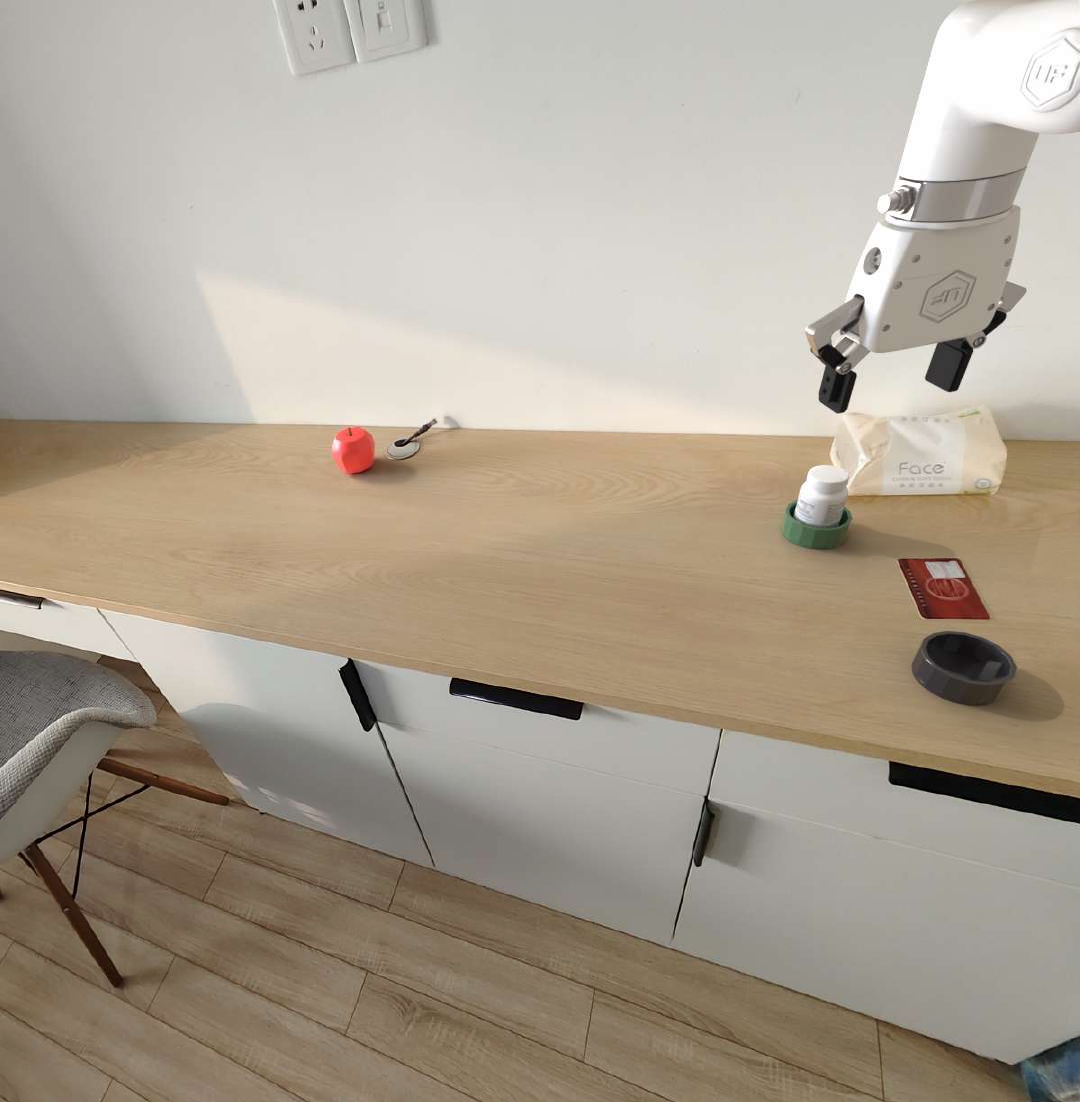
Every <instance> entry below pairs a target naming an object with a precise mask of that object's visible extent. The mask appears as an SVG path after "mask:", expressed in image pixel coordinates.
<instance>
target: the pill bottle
mask: <svg viewBox="0 0 1080 1102" xmlns="http://www.w3.org/2000/svg"><path fill="white" fill-rule="evenodd" d="M849 479H850V473H849V471H848V470H846V469H844V468H843V467H841V466H837V465H831V464H820V465H816V466H813V467H811V468H810V469H809V471H808V473H807V477H806V481H805V482H804V483H802V485H801V487H800V490H799V494H798V497H797V500H798V501H797V505H796V509H795V513H794V517H793V518H794V519H795V520H796V521H798V522H800V523H802V524H804V525H807V526H811V527H815V528H834V527H838V525H839V522H840V519H841V516H842V513H843V509H844V507H846V506H845V505H846V503H847V500H848V496H849V490H848V487H847V486H848V483H849Z"/></svg>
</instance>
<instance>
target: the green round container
mask: <svg viewBox="0 0 1080 1102" xmlns="http://www.w3.org/2000/svg"><path fill="white" fill-rule="evenodd" d="M797 501H798V499H796V500H794V501H791V502H789V503H788V504H787V506H786V507H785V509H784V513H783V518H782V521H781V525H780V526H781V527H780V528H781V529H780V531H781V534H782V536H783V537H784V538H785V539H787V540H788V541H789V542H791V543H792V544H794V545H797V546H798V547H799V546H800V547H803V548H807V549H811V550H826V549H827V550H828V549H834V548H836V547H838V546H840V545H842V544H843V543H844V542H845V540H846V539H847V536H848V533H849V530H850V527H851V525H852V521H853V516H852V512H851V511H850V510H849V509H848V508H847V507H846V506H844V509H843V513H842V516H841V519H840V522H839V525H838V527H834V528H815V527H811V526H807V525H804V524H802V523H800V522H798V521H796V520H795V519H794V518H793V517H794V513H795V509H796V505H797Z"/></svg>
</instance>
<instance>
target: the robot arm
mask: <svg viewBox="0 0 1080 1102" xmlns="http://www.w3.org/2000/svg"><path fill="white" fill-rule="evenodd" d="M909 128H910V129H909V132H908V136H907V139H906V143H905V146H904V150H903V154H902V157H901V161H900V164H899V168H898V173H897V174H896V178H895V182H894V186H893V189H892V191H891V192H889V193H886V194H883V195H881V196H880V197H879V199H878V201H877V211H878V212H879V213H881V214H885V213H886V214H885V218H883V219H880V220H878V221H877V222H876V225H875V227H874V229H873V231H872V233H871V234H870V237H869V239H868V241H867V243H866V245H865V248H864V250H863V252H862V255H861V256H860V259H859V261H858V264H857V266H856V268H855V272H854V275H853V276H852V280H851V282H850V286H849V288H848V291H847V295H846V298H845V302H844V303H842V304H841V305H839V306H838V307H836V308H835V309H833V310H831V311H829V312H827V313H826V314H825V315H823V316H821V317H820V318H818V319H816V320H815V321H813V322H812V323H810V324H809V325H807V326H806V328H805V330H804V334H805V337H806V339H807V342H808V345H809V346H810V349H809V351H810V353H811V354H812V355H814V356H815V358H817V359H818V360H819V362H820V363H821V364H823V365H824V366H825V367H824V370H823V375H822V378H821V381H820V385H819V390H818V401H819V403H820V404H821V405H823V406H824V407H826V408H828V409H829V410H830V411H832V412H834V413H835V414H837V415H838V414H844V413H845V412H846V411H847V410H848V409H849V405H850V401H851V397H852V396H853V395H852V394H853V391H854V387H855V384H856V380H857V379H858V378H857V377H858V376H857V375H858V374H857V372H856V371H853V369H854V368H855V367H856V366H857V365H858V364H859V363H860V362H861V361H862V360H863V359H864V358H865V357H866V356H868V355H869V354H870V353H875V354H886V353H893V352H898V351H903V350H908V349H914V348H919V347H924V346H929V345H934V344H935V348H934V351H933V353H932V356H931V359H930V361H929V365H928V367H927V370H926V373H925V376H924V380H925V382H928V383H929V384H931V385H933V386H935V387H937V388H939V389H940V390H943V391H944V392H947V393H953V392H958V390H959V388H960V386H961V383H962V382H963V378H964V376H965V374H966V371H967V369H968V366H969V364H970V361H971V358H972V356H973V354H974V350H975V349H980V348H981V347H982V346H984V345H985V343H986V342H987V336H988V335H989V334H991V333H992V332H993V331H994V330H996V329H997V328H998V327H999V326H1001V325H1002V324H1003V323H1004V322H1005V321H1006V320H1007V317H1008V315H1007V313H1010V312H1012V310H1013V309H1014V308H1015V307H1016V305H1017V304H1018V303H1019V302H1020V301H1021V299H1022V298H1023V297H1024V296H1025V295H1026V293H1027V288H1026V287H1024V286H1022V285H1019V284H1016V283H1014V282H1011V281H1008V277H1009V273H1010V270H1011V268H1012V264H1013V260H1014V257H1015V256H1014V255H1015V252H1016V247H1017V242H1018V238H1019V230H1020V224H1021V210H1022V209H1021V206H1019V205H1017V204H1014V202H1015V200H1016V197H1017V195H1018V192H1019V189H1020V186H1021V184H1022V181H1023V178H1024V176H1025V174H1026V171H1027V168H1028V165H1029V163H1030V160H1031V157H1032V155H1033V152H1034V150H1035V147H1036V144H1037V142H1038V139H1039V137H1040V134H1043V135H1066V134H1075V133H1080V0H970V1H968V2H966V3H964V4H962V5H959V6H958V7H957V8H955V9H954V10H953V11H951V12H950V13H949V15H947V16H946V18H944V20H943V22H942V24H941V25H940V26H939V29H938V30H937V33H936V37H935V39H934V42H933V45H932V49H931V53H930V56H929V59H928V64H927V67H926V71H925V75H924V79H923V82H922V85H921V89H920V93H919V96H918V100H917V103H916V107H915V110H914V114H913V118H912V121H911V124H910V127H909ZM837 331H839V335H840V336H839V337H837V338H836V340H835V341H832V336H833V334H834V333H835V332H837ZM832 342H833V343H832ZM854 344H855V346H854V347H853V348H852V349H850V350H849V352H847V350H848V349H849V348H850V347H851V346H852V345H854ZM845 352H847V353H846V354H845V355H843V354H844V353H845Z"/></svg>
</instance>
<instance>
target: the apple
mask: <svg viewBox="0 0 1080 1102" xmlns="http://www.w3.org/2000/svg"><path fill="white" fill-rule="evenodd" d="M375 443H376V442H375V440H374V437H373V435H372V434H371V433H370V432H368V430H366V429H365V428H362V427H360V426H354V427H353V426H352V427H349V426H348V427H346V428H343V429H342V430H340V431H338V432H336V435H335V437H334V440H333V443H332V445H331V456H332V458H333V460H334V462H335V464H336V466H337V467H338V469H339V470H342V471H343V472H345V473H347V474H350V475H353V474H359V473H361V472H364V471H366V470H368V469H369V468H371V467H372V466H373V465H374V461H375V447H376V444H375Z"/></svg>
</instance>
